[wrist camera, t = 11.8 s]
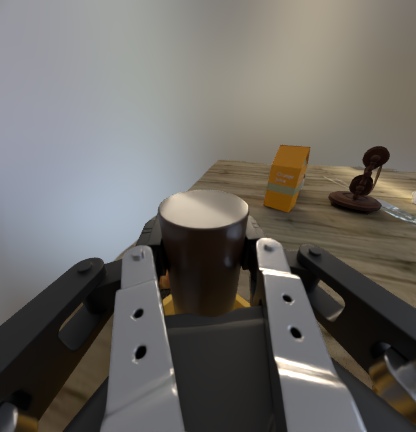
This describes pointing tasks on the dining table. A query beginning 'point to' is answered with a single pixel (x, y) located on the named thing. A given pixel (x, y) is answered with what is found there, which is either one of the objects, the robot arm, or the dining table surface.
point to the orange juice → (286, 177)
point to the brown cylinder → (203, 249)
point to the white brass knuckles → (414, 197)
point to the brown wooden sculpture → (363, 183)
